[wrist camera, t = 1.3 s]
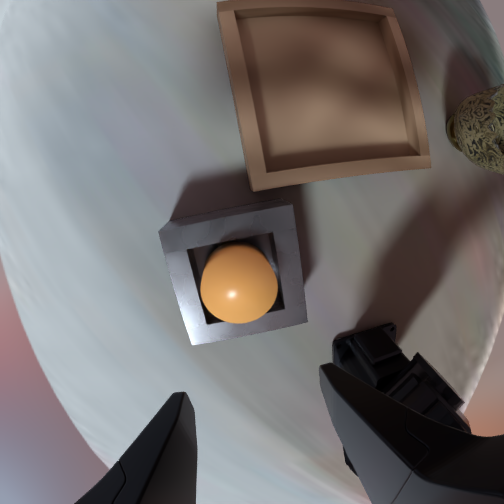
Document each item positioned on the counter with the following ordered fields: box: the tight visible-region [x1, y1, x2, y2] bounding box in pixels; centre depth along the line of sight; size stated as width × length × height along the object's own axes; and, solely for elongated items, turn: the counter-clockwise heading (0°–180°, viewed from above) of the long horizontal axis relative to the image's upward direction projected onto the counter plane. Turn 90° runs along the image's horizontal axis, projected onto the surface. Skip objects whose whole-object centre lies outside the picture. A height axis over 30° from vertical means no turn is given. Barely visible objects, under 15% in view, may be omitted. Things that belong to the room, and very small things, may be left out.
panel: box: [158, 199, 308, 345], centre depth 19 cm, size 8×8×4 cm
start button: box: [201, 242, 278, 324], centre depth 17 cm, size 4×4×2 cm
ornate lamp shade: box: [447, 84, 504, 175], centre depth 16 cm, size 8×7×8 cm
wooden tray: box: [217, 0, 431, 192], centre depth 17 cm, size 14×14×2 cm
